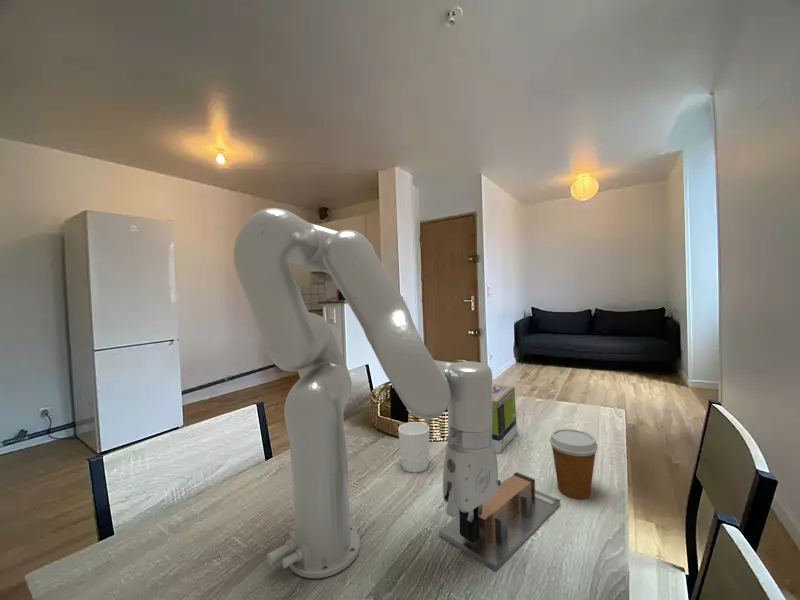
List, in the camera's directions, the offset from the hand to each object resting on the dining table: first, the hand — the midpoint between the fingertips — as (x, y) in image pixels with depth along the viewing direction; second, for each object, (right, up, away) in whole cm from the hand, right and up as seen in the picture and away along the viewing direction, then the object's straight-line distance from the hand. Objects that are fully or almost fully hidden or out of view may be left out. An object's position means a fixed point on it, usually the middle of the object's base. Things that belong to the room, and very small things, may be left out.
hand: (469, 537), depth 63 cm
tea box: (+15, 0, +42) cm, 45 cm away
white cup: (-8, -1, +29) cm, 30 cm away
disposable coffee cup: (+26, 0, +16) cm, 30 cm away
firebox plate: (+8, -1, +7) cm, 11 cm away
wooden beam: (+8, 0, +7) cm, 11 cm away
